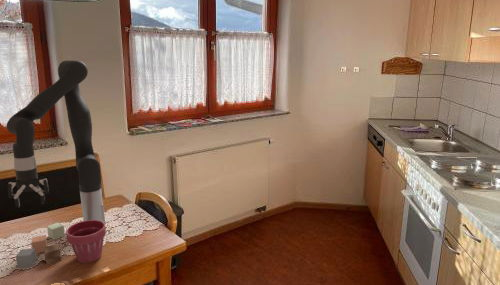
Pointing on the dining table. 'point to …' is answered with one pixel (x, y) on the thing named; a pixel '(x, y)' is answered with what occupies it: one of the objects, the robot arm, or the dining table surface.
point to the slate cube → (26, 258)
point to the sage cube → (56, 231)
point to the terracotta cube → (39, 243)
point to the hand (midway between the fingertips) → (30, 205)
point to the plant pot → (86, 239)
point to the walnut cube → (52, 254)
